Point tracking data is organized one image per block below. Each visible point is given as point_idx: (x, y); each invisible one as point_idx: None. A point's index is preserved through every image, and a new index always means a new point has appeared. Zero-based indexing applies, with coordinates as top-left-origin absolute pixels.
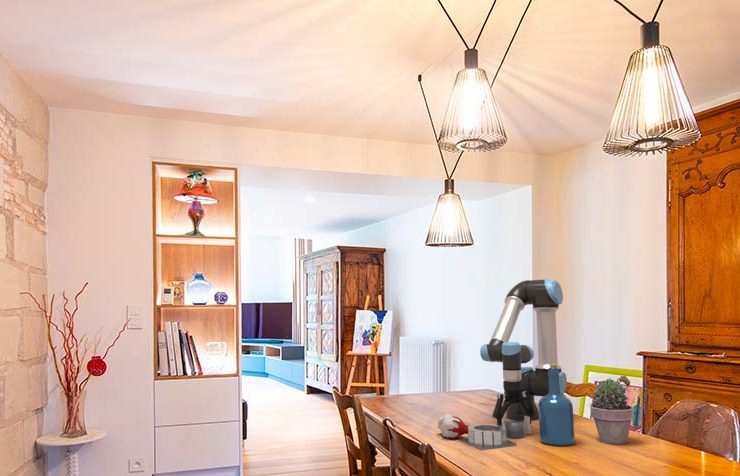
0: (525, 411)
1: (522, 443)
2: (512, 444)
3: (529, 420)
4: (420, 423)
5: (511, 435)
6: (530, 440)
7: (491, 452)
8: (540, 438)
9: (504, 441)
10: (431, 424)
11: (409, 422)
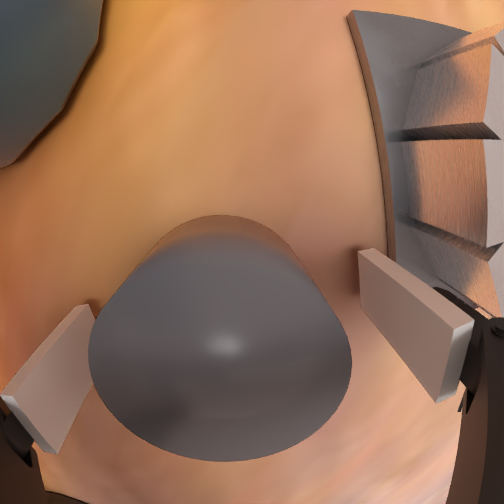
0: (14, 471)
1: (269, 50)
2: (385, 16)
3: (23, 369)
4: (445, 488)
5: (290, 250)
6: (144, 132)
7: (498, 6)
8: (94, 28)
9: (443, 49)
10: (433, 488)
11: None
